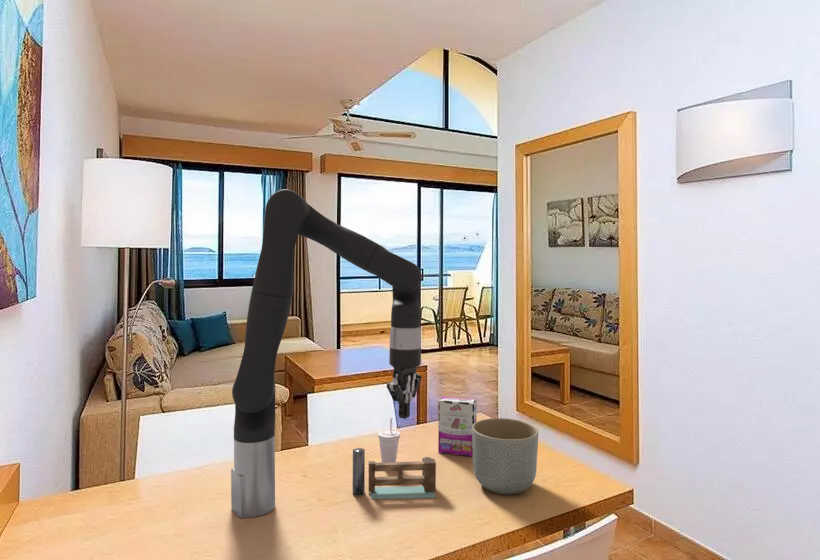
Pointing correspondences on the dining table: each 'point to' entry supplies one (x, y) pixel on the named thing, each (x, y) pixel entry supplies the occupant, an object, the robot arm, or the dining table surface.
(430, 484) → the gate
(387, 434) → the smoothie
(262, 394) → the robot arm
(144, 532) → the dining table surface
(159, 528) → the dining table surface
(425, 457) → the post
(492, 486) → the planter
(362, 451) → the gatepost
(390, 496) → the open mat
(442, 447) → the candy bar box
